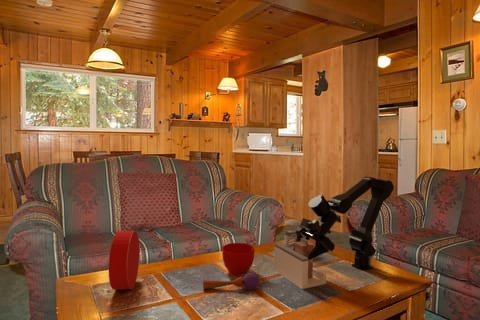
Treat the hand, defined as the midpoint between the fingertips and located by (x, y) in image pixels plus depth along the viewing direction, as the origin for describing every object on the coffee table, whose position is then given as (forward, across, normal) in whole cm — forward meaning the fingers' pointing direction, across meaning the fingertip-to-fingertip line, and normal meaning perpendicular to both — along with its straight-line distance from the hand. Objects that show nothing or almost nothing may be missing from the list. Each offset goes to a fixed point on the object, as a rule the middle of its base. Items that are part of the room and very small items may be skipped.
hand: (300, 255), depth 129 cm
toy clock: (+50, -20, -37) cm, 65 cm away
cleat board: (+6, -3, +8) cm, 10 cm away
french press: (-5, -29, +19) cm, 35 cm away
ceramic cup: (+20, -18, -6) cm, 27 cm away
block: (+5, 0, +7) cm, 9 cm away
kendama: (+26, -4, -12) cm, 29 cm away
